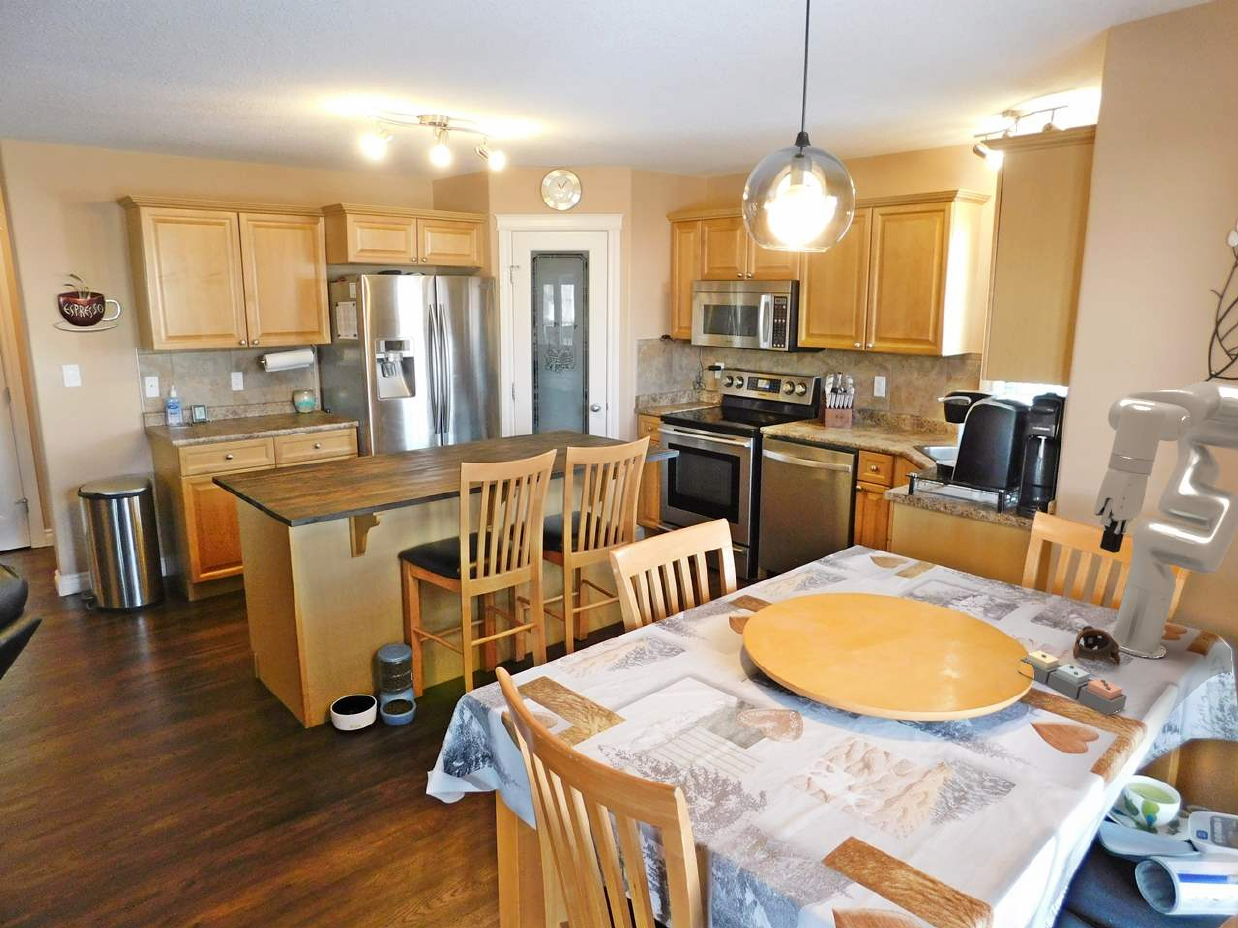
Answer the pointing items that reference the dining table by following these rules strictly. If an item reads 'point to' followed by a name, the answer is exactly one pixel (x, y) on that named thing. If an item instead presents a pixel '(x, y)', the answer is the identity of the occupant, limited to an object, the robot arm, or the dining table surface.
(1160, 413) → the robot arm
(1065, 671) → the button two
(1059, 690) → the tile two base
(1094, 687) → the button three
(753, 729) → the dining table surface
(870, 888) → the dining table surface
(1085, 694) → the tile base
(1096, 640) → the pottery mug
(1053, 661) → the button one
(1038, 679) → the tile one base
